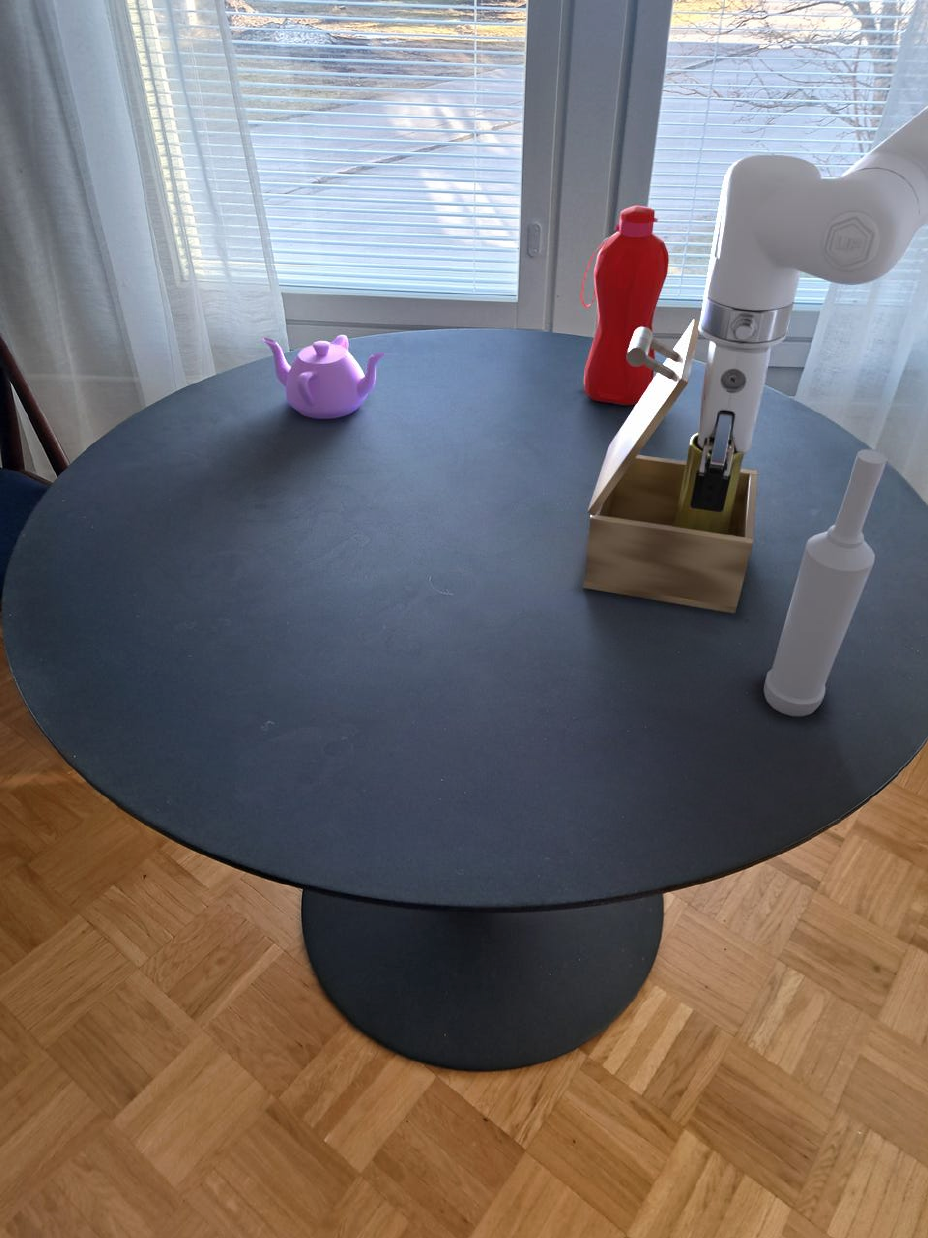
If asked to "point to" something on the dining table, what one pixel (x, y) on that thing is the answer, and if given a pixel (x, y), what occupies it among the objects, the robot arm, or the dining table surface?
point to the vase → (685, 512)
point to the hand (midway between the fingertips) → (709, 490)
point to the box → (668, 541)
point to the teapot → (324, 378)
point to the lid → (646, 404)
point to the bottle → (825, 597)
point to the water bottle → (624, 306)
